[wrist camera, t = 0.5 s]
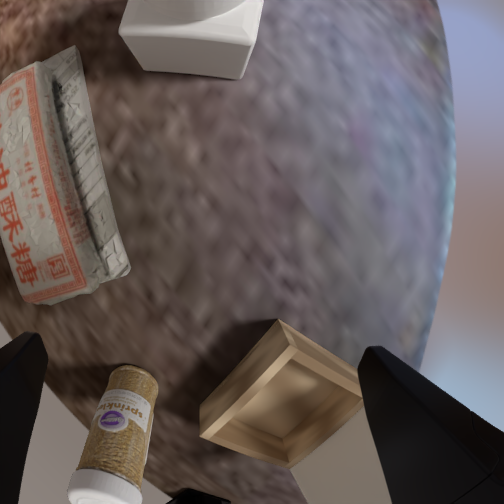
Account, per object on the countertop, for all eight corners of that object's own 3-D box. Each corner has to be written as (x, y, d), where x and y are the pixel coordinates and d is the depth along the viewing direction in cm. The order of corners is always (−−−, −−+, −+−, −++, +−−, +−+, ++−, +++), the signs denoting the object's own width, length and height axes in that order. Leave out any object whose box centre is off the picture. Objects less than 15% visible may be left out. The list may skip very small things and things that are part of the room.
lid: (289, 469, 25) (293, 469, 25) (335, 551, 16) (339, 550, 16) (376, 393, 23) (379, 394, 23) (446, 477, 14) (448, 476, 15)
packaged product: (120, 293, 18) (10, 322, 17) (137, 269, 23) (38, 298, 22) (58, 27, 13) (-44, 94, 12) (83, 49, 18) (-11, 101, 17)
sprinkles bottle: (147, 358, 24) (114, 493, 11) (166, 398, 25) (153, 528, 12) (100, 367, 24) (50, 488, 11) (122, 405, 25) (92, 524, 12)
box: (281, 441, 28) (289, 469, 24) (199, 405, 26) (199, 436, 22) (357, 369, 27) (375, 394, 23) (278, 318, 24) (289, 344, 21)
